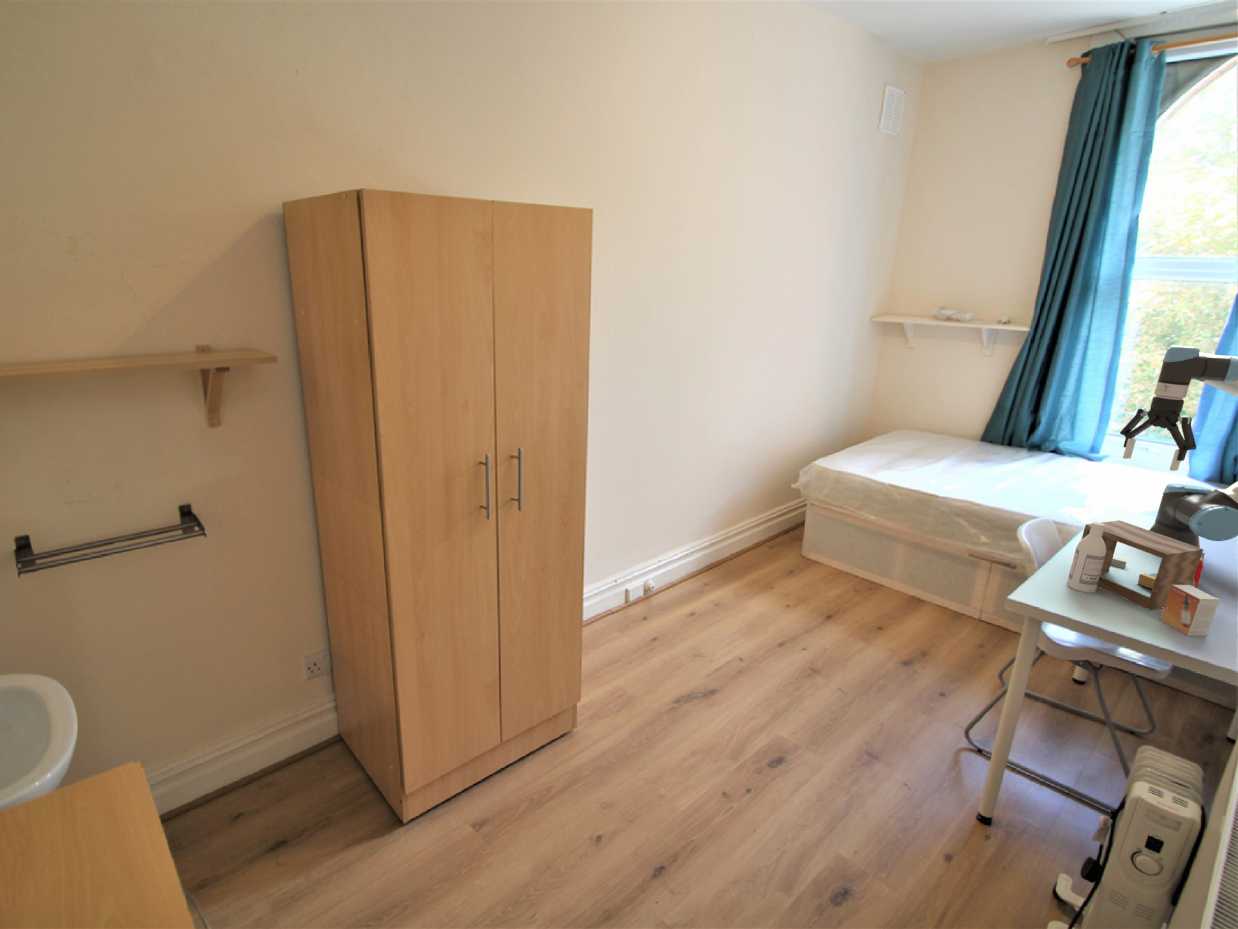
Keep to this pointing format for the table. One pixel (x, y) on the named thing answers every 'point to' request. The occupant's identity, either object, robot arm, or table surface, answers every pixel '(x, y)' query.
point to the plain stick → (1118, 562)
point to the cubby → (1175, 554)
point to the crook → (1151, 578)
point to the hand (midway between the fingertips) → (1149, 464)
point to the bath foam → (1088, 560)
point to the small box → (1189, 610)
